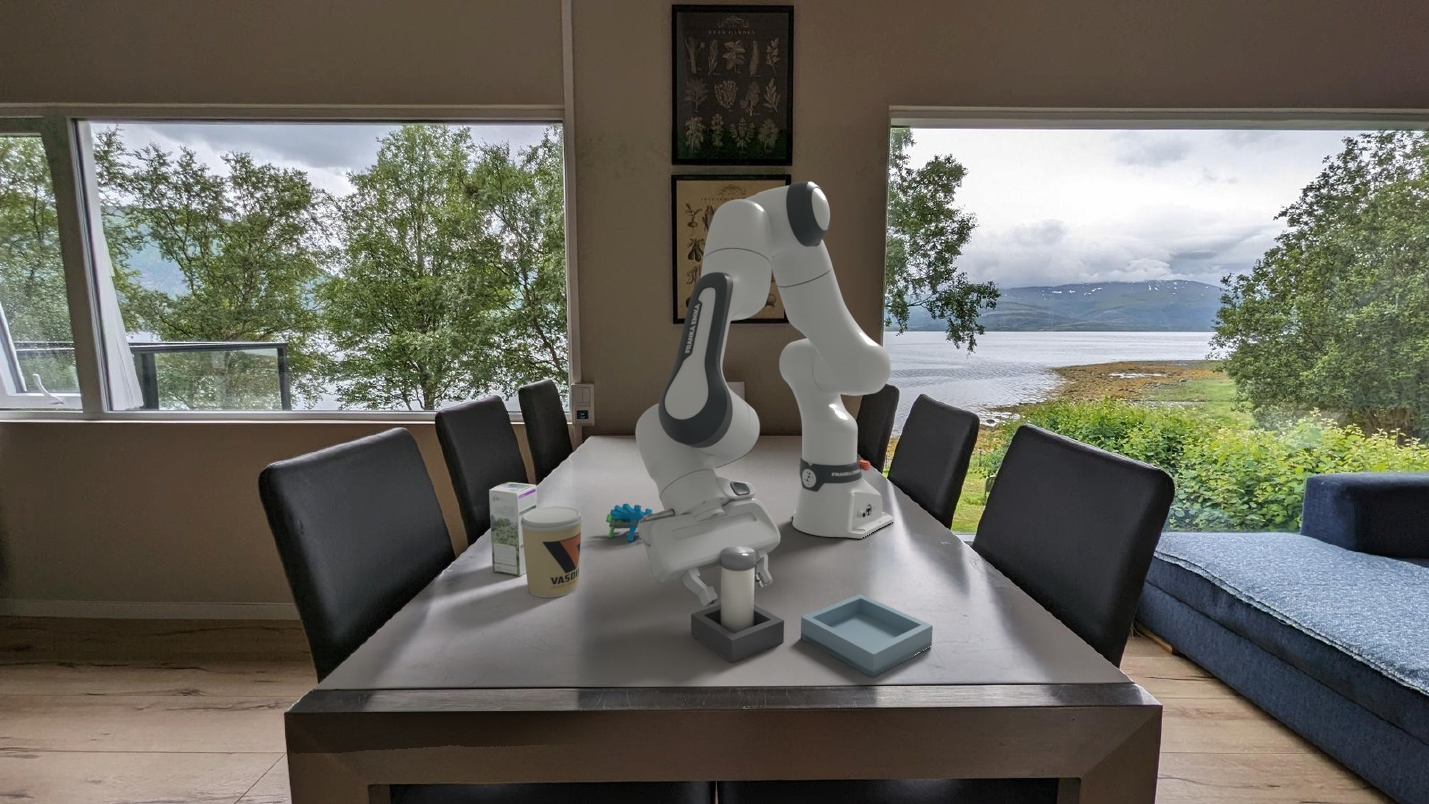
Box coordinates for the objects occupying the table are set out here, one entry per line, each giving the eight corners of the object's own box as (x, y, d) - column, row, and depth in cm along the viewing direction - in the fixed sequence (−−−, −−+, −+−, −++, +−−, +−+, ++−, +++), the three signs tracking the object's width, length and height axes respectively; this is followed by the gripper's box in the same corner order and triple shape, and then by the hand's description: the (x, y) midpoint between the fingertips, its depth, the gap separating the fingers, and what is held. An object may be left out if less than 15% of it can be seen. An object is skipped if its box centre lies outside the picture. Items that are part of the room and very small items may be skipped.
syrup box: (540, 564, 109) (538, 483, 107) (519, 577, 104) (516, 491, 102) (512, 560, 111) (510, 480, 109) (490, 572, 105) (487, 488, 104)
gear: (668, 524, 126) (649, 499, 119) (663, 552, 123) (642, 528, 115) (620, 526, 130) (598, 501, 123) (613, 552, 126) (590, 529, 119)
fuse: (739, 627, 87) (740, 543, 86) (761, 640, 84) (762, 553, 82) (712, 637, 85) (713, 551, 83) (734, 651, 81) (735, 561, 79)
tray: (859, 613, 92) (859, 594, 91) (931, 647, 82) (932, 625, 82) (800, 638, 84) (801, 616, 84) (872, 678, 75) (873, 654, 75)
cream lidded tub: (552, 605, 94) (550, 527, 92) (509, 591, 98) (507, 516, 97) (595, 584, 101) (594, 511, 100) (554, 571, 106) (552, 502, 105)
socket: (741, 617, 90) (741, 597, 90) (783, 642, 83) (784, 620, 83) (691, 635, 85) (691, 614, 85) (732, 663, 78) (732, 640, 78)
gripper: (641, 505, 81) (684, 604, 75) (760, 482, 93) (806, 565, 87) (624, 529, 85) (664, 625, 79) (740, 504, 97) (783, 585, 91)
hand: (739, 593), depth 83 cm, fingers open, 8 cm apart
